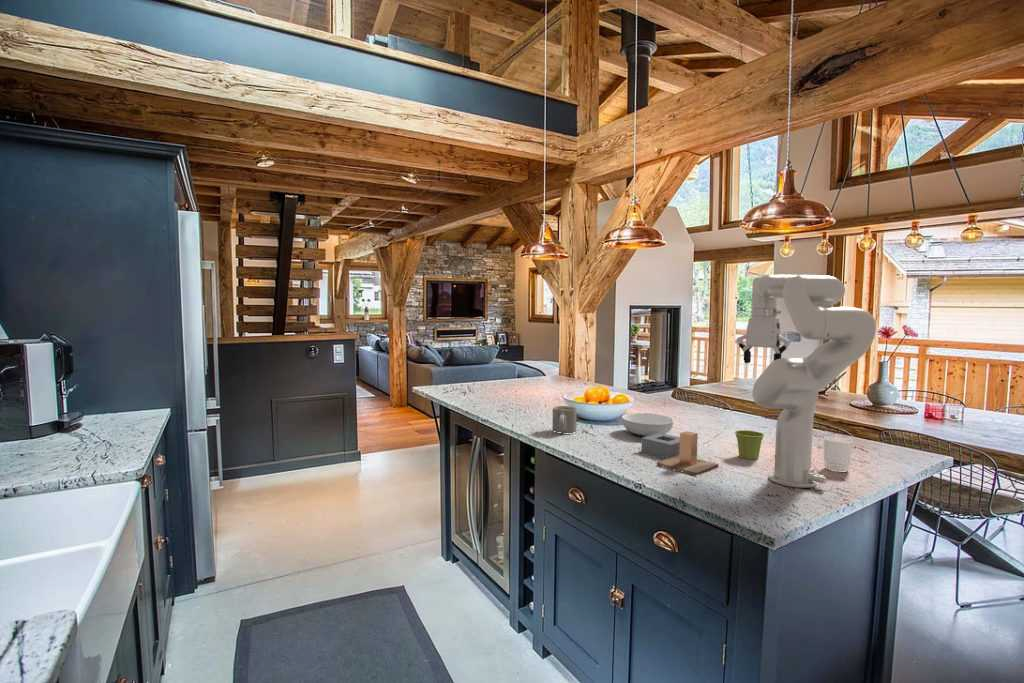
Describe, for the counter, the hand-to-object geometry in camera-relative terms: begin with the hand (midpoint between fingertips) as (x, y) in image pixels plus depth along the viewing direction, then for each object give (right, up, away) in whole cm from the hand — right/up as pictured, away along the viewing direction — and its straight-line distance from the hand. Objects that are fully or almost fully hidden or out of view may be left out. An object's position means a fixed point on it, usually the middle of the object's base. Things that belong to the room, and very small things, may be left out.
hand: (761, 364), depth 171 cm
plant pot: (-2, -33, +5) cm, 34 cm away
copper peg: (-27, -32, -5) cm, 43 cm away
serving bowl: (-29, -31, +38) cm, 57 cm away
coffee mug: (-64, -31, +40) cm, 81 cm away
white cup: (+21, -34, -7) cm, 41 cm away
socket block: (-29, -32, +11) cm, 45 cm away
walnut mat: (-27, -33, -5) cm, 43 cm away
